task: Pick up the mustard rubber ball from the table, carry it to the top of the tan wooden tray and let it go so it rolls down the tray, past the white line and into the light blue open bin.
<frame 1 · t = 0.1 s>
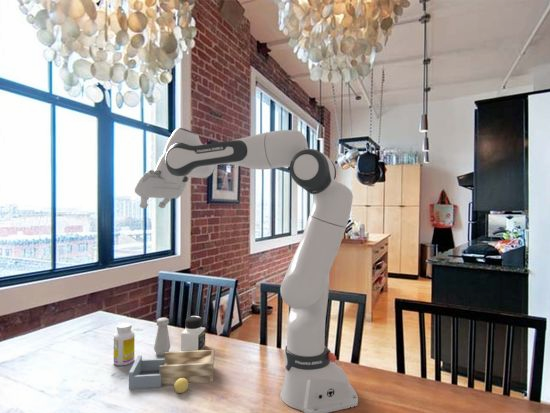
hand: (152, 207, 116), 54 cm above the table, tool tilted 30°, fingers open, 8 cm apart
salt shaker: (162, 354, 124), on the table
supplement bottle: (123, 362, 117), on the table
ball: (181, 385, 99), point 2 cm above the table
light blue open bin: (149, 378, 106), on the table
medicine bottle: (193, 349, 128), on the table
tan wooden tray: (187, 376, 108), on the table
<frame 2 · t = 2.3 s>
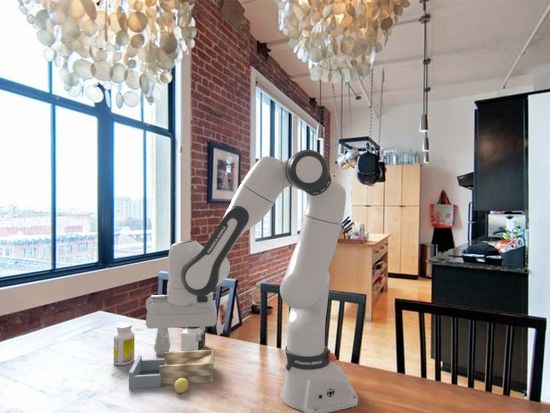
hand: (181, 341, 99), 15 cm above the table, tool pointing down, fingers open, 8 cm apart
nothing on the table moved.
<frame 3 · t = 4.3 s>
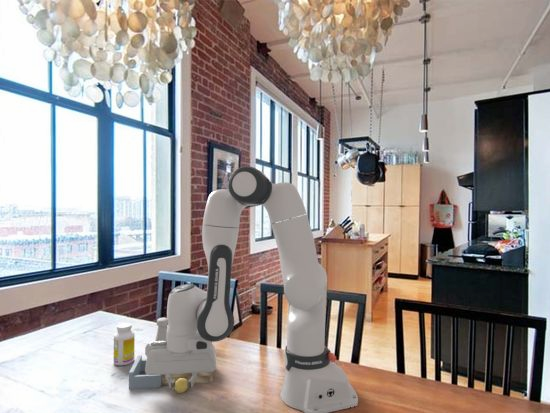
hand: (181, 386, 99), 2 cm above the table, tool pointing down, fingers closed on ball, 4 cm apart
ball: (181, 385, 99), point 2 cm above the table, touching gripper
everything else where it was.
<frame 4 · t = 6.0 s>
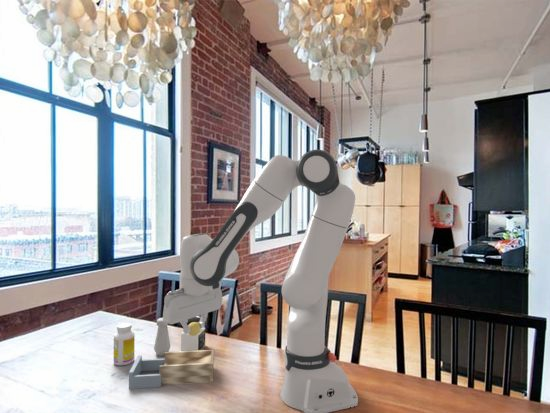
hand: (194, 330, 103), 17 cm above the table, tool pointing down, fingers closed on ball, 4 cm apart
ball: (193, 328, 103), point 17 cm above the table, touching gripper
everything else where it was.
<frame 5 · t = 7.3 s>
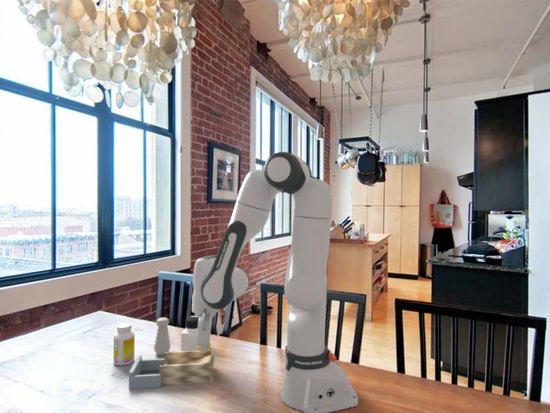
hand: (204, 347, 109), 9 cm above the table, tool pointing down, fingers closed on ball, 4 cm apart
ball: (204, 345, 109), point 9 cm above the table, touching gripper
everything else where it was.
when the fingers open (8 cm above the table, at t = 7.8 s): ball drops 6 cm and tips over, resting on light blue open bin.
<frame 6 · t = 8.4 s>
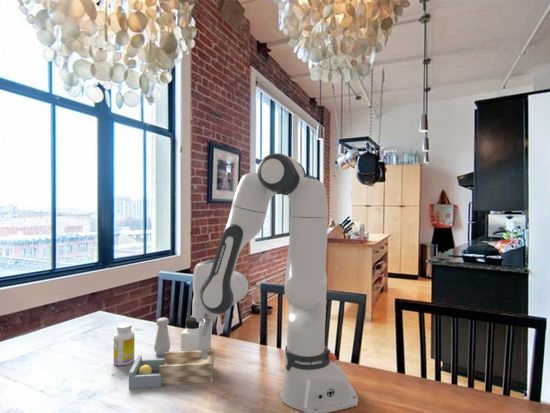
hand: (205, 351, 109), 8 cm above the table, tool pointing down, fingers open, 8 cm apart
ball: (145, 371, 106), point 2 cm above the table, tilted 141°, touching light blue open bin
everything else where it was.
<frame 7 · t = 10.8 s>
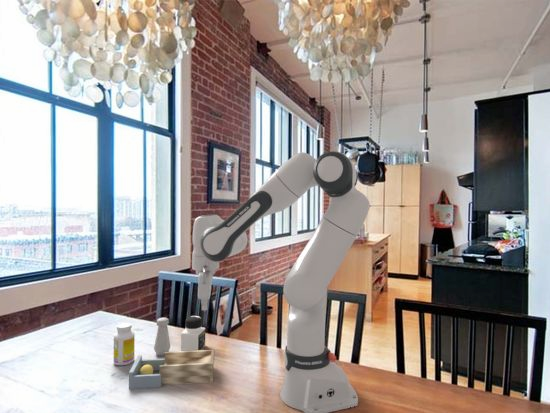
hand: (205, 305, 110), 22 cm above the table, tool pointing down, fingers open, 8 cm apart
ball: (146, 371, 106), point 2 cm above the table, tilted 155°, touching light blue open bin
everything else where it was.
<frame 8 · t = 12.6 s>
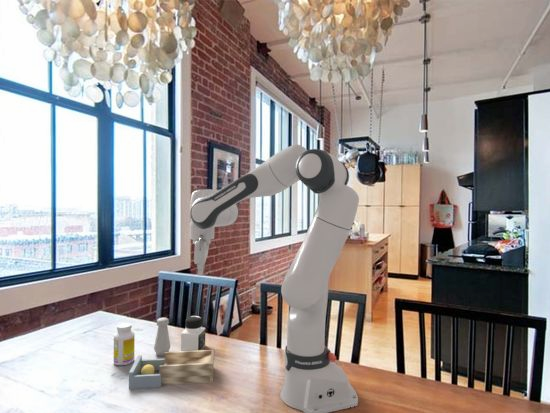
hand: (201, 272, 120), 31 cm above the table, tool pointing down, fingers open, 8 cm apart
ball: (147, 371, 106), point 2 cm above the table, tilted 165°, touching light blue open bin
everything else where it was.
at the end: ball inside the target area (0.2 cm from its centre), point 2.2 cm above the table; the gripper is holding nothing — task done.
